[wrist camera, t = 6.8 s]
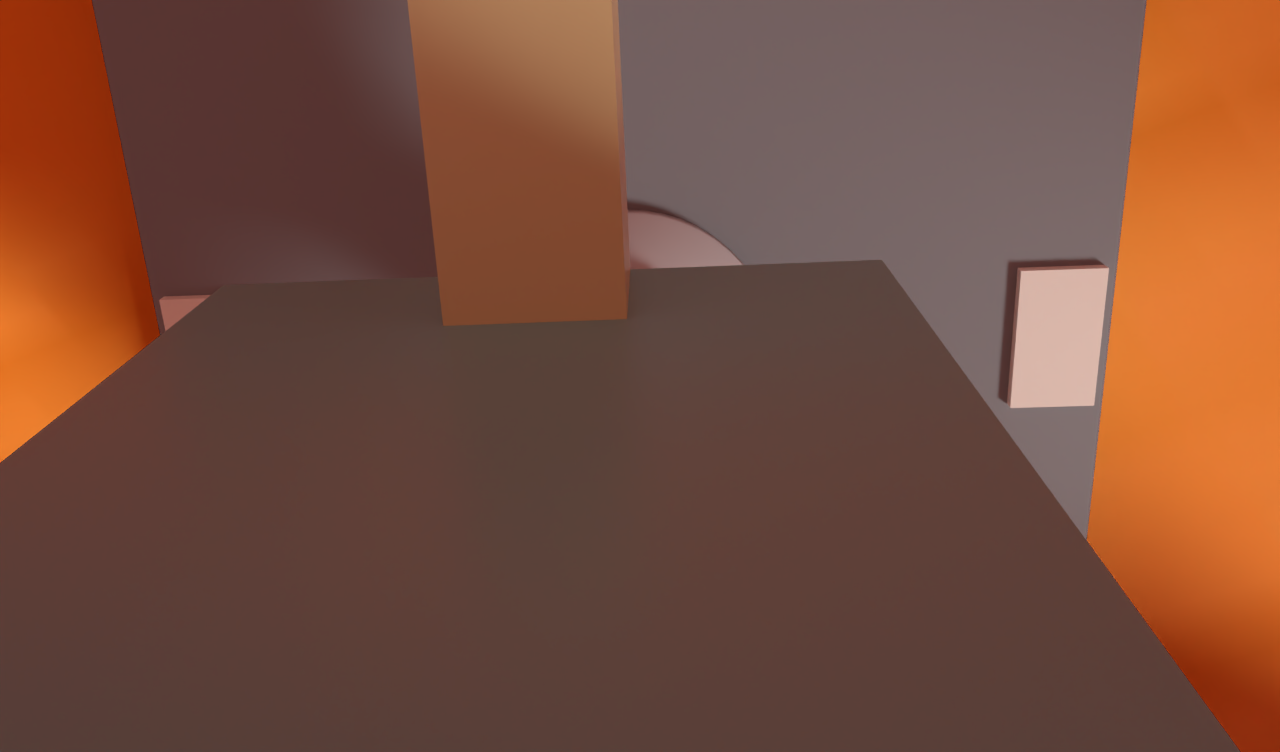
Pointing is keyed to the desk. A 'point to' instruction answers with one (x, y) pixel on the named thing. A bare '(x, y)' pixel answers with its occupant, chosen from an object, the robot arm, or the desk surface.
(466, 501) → the grey-teal block
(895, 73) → the post base
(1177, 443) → the desk surface
